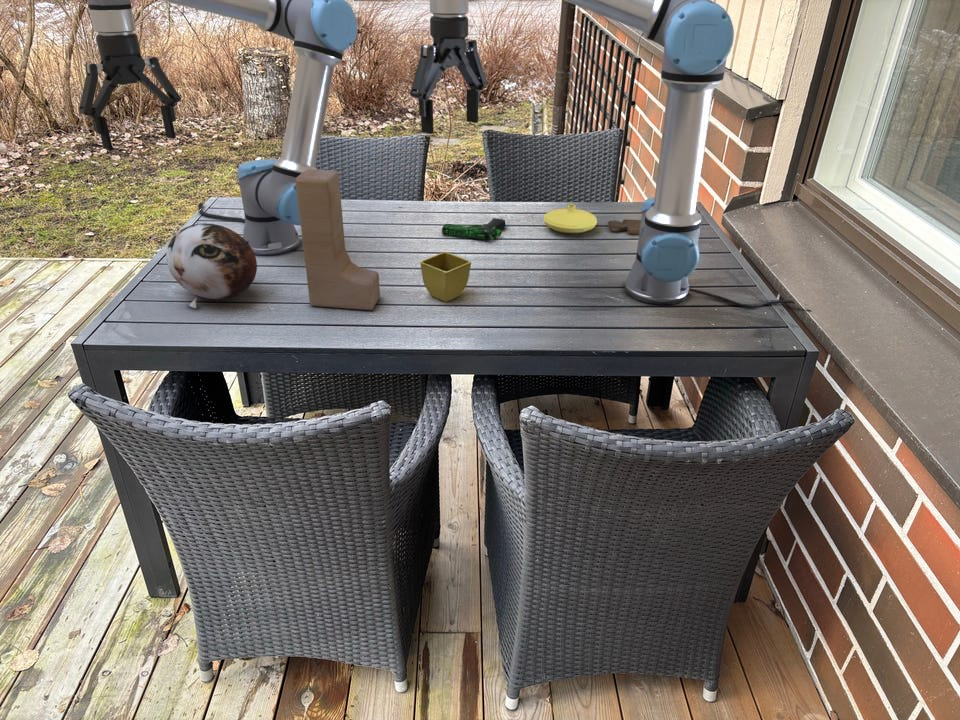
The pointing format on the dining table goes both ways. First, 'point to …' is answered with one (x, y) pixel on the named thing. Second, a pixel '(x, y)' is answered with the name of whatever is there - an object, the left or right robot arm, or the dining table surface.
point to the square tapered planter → (445, 275)
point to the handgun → (476, 230)
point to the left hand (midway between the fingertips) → (140, 143)
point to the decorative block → (330, 246)
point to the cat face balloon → (211, 261)
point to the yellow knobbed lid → (570, 220)
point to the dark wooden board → (625, 226)
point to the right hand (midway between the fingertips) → (450, 127)
